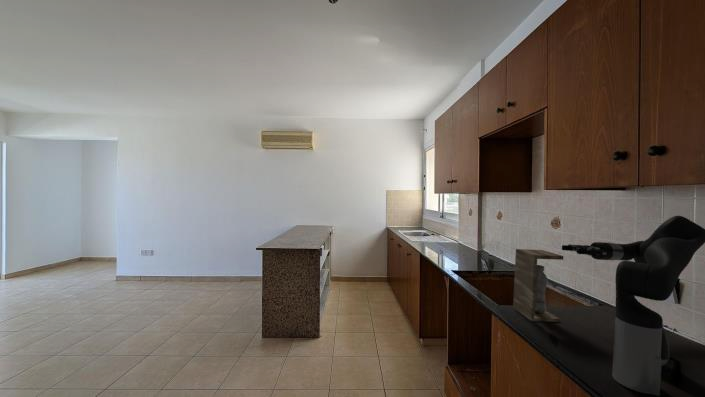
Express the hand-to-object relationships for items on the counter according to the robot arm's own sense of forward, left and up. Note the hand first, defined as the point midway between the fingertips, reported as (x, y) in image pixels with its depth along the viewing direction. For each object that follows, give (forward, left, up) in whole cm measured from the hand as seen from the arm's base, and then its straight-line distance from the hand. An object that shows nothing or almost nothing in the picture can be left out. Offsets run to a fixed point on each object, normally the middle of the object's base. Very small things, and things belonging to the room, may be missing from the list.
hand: (569, 249), depth 127 cm
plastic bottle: (+9, +9, -28) cm, 31 cm away
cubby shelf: (+10, +9, -29) cm, 32 cm away
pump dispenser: (-23, +26, -29) cm, 45 cm away
